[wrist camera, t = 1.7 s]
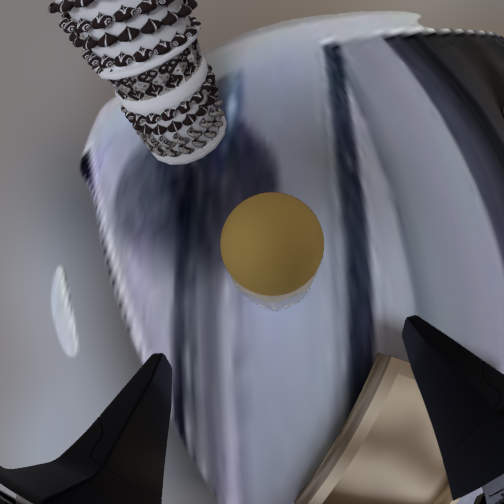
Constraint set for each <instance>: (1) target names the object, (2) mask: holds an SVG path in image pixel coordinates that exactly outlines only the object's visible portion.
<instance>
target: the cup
mask: <svg viewBox="0 0 504 504" xmlns="http://www.w3.org/2000/svg"><path fill="white" fill-rule="evenodd" d="M322 257H323V256H322ZM317 270H318V269H317ZM316 272H317V271H316ZM315 275H316V273H315V274H314V276H313V277H312V278H311V279H310V280H309V281H308V282H307V283H306V284H305V285H303V286H302V287H300V288H299V289H297V290H295V291H293V292H291V293H288V294H285V295H279V296H265V295H260V294H257V293H254V292H251V291H249V290H247V289H246V288H244V287H243V286H241V285H240V284H239V283H237V282H236V281H235V280H234V279H233V277H232V276H231V277H232V279H233V282H234V285H235V287H236V288H237V289H238V290H239V291H240V292H241V293H243V294H244V295H245V296H246V297H247V298H248V299H249V300H250V301H252V302H254V303H256V304H258V305H260V306H261V307H264V308H267V309H270V310H272V311H274V310H276V311H278V310H281V309H284V308H287V307H290V306H292V305H293V304H296V303H298V302H300V300H302V298H303V297H304V296H305V294H306V293H307V291H308V290H309V289H310V287H311V284H312V282H313V280H314V277H315Z"/></svg>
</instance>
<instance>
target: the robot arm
mask: <svg viewBox="0 0 504 504" xmlns="http://www.w3.org/2000/svg"><path fill="white" fill-rule="evenodd" d="M402 338H403V341H404V345H405V348H406V352H407V355H408V359H409V362H410V366H411V369H412V372H413V375H414V378H415V380H416V383H417V385H418V388H419V390H420V393H421V396H422V398H423V401H424V404H425V407H426V410H427V412H428V415H429V418H430V421H431V424H432V427H433V430H434V433H435V436H436V440H437V443H438V446H439V449H440V453H441V456H442V458H443V459H442V460H443V464H444V467H445V471H446V475H447V479H448V483H449V487H450V491H451V496H452V499H453V501H454V500H456V499H458V498H461V497H463V496H465V495H467V494H469V493H471V492H473V491H475V490H477V489H478V488H480V487H482V489H483V492H484V493H482V494H480V495H479V496H477V497H476V499H475V502H474V504H504V374H502V373H501V372H499V371H497V370H496V369H494V368H493V367H491V366H490V365H489V364H487V363H486V362H484V361H482V360H481V359H480V358H479V357H477V356H476V355H474V354H473V353H471V352H470V351H469V350H467V349H466V348H464V347H463V346H461V345H460V344H459V343H457V342H456V341H454V340H453V339H451V338H450V337H448V336H447V335H445V334H444V333H442V332H441V331H440V330H438V329H437V328H435V327H434V326H432V325H431V324H429V323H428V322H426V321H425V320H423V319H422V318H420V317H419V316H417V315H414V316H410V317H407V318H406V320H405V323H404V327H403V331H402ZM171 402H172V368H171V365H170V363H169V362H168V360H167V358H166V356H165V355H164V354H163V353H155V354H152V355H151V356H150V358H149V359H148V360H147V361H146V362H145V363H144V365H143V366H142V367H141V368H140V369H139V371H138V372H137V373H136V374H135V375H134V376H133V378H132V379H131V380H130V381H129V382H128V383H127V384H126V386H125V387H124V388H123V389H122V390H121V391H120V393H119V394H118V395H117V396H116V397H115V398H114V400H113V401H112V402H111V403H110V404H109V405H108V407H107V408H106V409H105V410H104V411H103V413H102V414H101V415H100V417H98V418H97V420H96V421H95V422H94V423H93V424H92V425H91V427H90V428H89V429H88V430H87V431H86V432H85V433H84V434H83V435H82V436H81V437H80V438H79V439H78V440H77V441H76V442H75V443H74V444H73V445H72V446H71V447H70V448H69V449H67V450H66V451H65V452H64V453H63V454H62V455H61V456H60V457H59V458H57V459H56V460H54V461H51V462H48V463H44V464H39V465H34V466H29V467H23V468H17V469H6V468H3V467H1V466H0V483H1V484H2V485H3V486H5V487H6V488H8V489H9V490H11V491H13V492H14V493H16V494H17V495H16V498H14V497H12V496H10V495H8V494H7V493H5V492H3V491H1V490H0V504H161V501H162V499H161V498H162V488H163V476H164V465H165V455H166V447H167V438H168V430H169V422H170V414H171Z"/></svg>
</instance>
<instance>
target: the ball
mask: <svg viewBox="0 0 504 504" xmlns="http://www.w3.org/2000/svg"><path fill="white" fill-rule="evenodd" d="M323 251H324V237H323V232H322V228H321V226H320V223H319V221H318V219H317V217H316V216H315V214H314V213H313V212H312V210H311V209H310V208H309V207H308V206H307V205H306V204H304V203H303V202H302V201H300V200H299V199H297V198H295V197H293V196H290V195H287V194H283V193H276V192H268V193H261V194H257V195H254V196H252V197H250V198H248V199H246V200H244V201H243V202H241V203H240V204H239V205H238V206H237V207H236V208H235V209H234V210H233V211H232V212H231V213H230V215H229V216H228V218H227V220H226V222H225V224H224V226H223V230H222V233H221V255H222V259H223V262H224V264H225V266H226V268H227V270H228V272H229V273H230V275H231V276H232V277H233V279H234V280H235V281H236V282H237V283H239V284H240V285H241V286H243V287H244V288H246V289H247V290H249V291H251V292H254V293H257V294H260V295H265V296H279V295H285V294H288V293H291V292H293V291H295V290H297V289H299V288H300V287H302V286H303V285H305V284H306V283H307V282H308V281H309V280H310V279H311V278H312V277H313V276H314V274H315V273H316V271H317V269H318V267H319V265H320V263H321V260H322V256H323Z"/></svg>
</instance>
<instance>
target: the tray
mask: <svg viewBox="0 0 504 504" xmlns="http://www.w3.org/2000/svg"><path fill="white" fill-rule="evenodd" d="M442 459H443V458H442V456H441V453H440V449H439V446H438V443H437V440H436V436H435V433H434V430H433V427H432V424H431V421H430V418H429V415H428V412H427V410H426V407H425V404H424V401H423V398H422V396H421V393H420V390H419V388H418V385H417V383H416V380H415V378H414V375H413V372H412V369H411V366H410V363H409V362H406V361H403V360H400V359H398V358H395V357H392V356H388V355H384V354H379V353H378V355H377V357H376V360H375V362H374V364H373V367H372V369H371V371H370V373H369V376H368V378H367V380H366V382H365V384H364V386H363V388H362V391H361V393H360V395H359V397H358V399H357V401H356V403H355V405H354V407H353V409H352V411H351V412H350V414H349V416H348V418H347V420H346V422H345V424H344V425H343V427H342V429H341V431H340V433H339V434H338V436H337V438H336V440H335V441H334V443H333V445H332V446H331V448H330V450H329V451H328V453H327V455H326V456H325V458H324V459H323V461H322V463H321V464H320V466H319V467H318V469H317V470H316V472H315V473H314V475H313V476H312V478H311V479H310V481H309V482H308V484H307V485H306V486H305V488H304V489H303V491H302V492H301V493H300V495H299V496H298V497H297V499H296V500H295V502H294V504H456V503H457V502H458V500H459V499H460V498H458V499H456V500H454V501H453V499H452V496H451V491H450V487H449V483H448V479H447V475H446V471H445V467H444V464H443V460H442Z"/></svg>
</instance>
